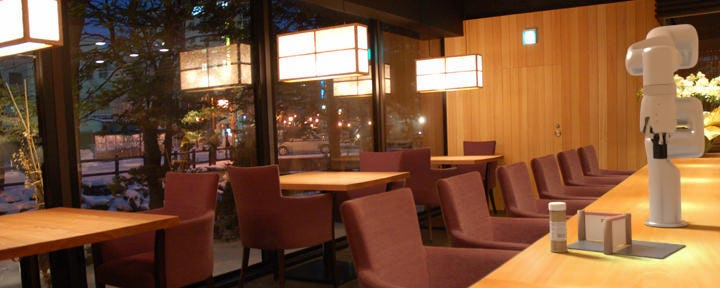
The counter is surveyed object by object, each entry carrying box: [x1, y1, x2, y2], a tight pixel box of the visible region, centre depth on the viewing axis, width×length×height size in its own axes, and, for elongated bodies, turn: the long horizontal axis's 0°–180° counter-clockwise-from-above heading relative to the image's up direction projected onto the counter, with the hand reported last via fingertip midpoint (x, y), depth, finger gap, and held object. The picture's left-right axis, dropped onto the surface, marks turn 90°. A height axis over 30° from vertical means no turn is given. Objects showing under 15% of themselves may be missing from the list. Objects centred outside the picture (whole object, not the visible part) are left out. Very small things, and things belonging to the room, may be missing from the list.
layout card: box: [567, 239, 686, 260], centre depth 169 cm, size 20×26×1 cm
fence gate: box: [601, 214, 626, 249], centre depth 167 cm, size 10×2×8 cm, turn 128°
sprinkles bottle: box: [548, 201, 568, 254], centre depth 167 cm, size 5×5×13 cm
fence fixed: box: [576, 209, 633, 256], centre depth 171 cm, size 16×15×9 cm
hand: (660, 158), depth 167 cm, fingers closed
